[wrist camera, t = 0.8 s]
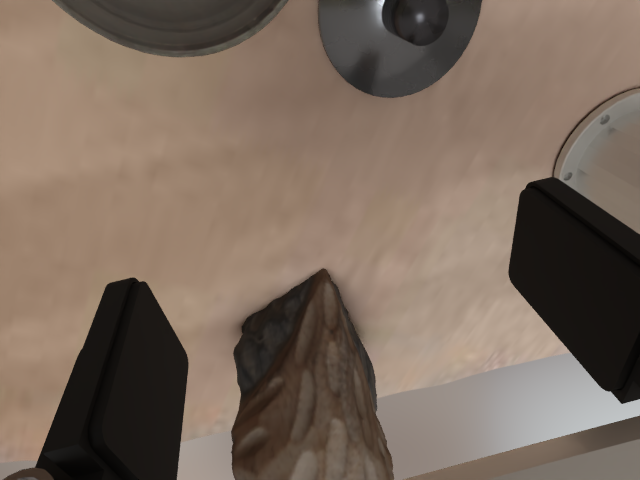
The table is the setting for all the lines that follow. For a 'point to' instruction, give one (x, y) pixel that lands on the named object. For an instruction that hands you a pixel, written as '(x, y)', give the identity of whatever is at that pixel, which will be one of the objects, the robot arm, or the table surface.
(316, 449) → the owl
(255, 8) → the coffee can
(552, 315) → the robot arm
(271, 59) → the table surface
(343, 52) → the lid
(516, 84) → the table surface
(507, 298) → the table surface
